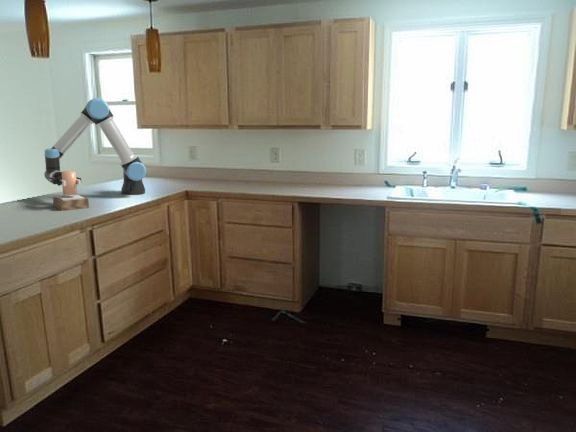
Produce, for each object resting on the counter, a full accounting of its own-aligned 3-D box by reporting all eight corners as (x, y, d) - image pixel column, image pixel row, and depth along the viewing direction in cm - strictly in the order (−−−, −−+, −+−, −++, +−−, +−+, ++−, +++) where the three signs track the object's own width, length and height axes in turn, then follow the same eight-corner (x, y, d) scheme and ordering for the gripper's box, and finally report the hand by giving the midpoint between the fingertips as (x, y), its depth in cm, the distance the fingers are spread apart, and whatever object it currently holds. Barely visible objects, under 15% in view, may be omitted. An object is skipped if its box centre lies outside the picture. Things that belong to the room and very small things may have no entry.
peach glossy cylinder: (74, 192, 256) (73, 170, 254) (79, 194, 251) (77, 172, 249) (61, 193, 252) (59, 171, 249) (65, 195, 247) (64, 172, 244)
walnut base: (79, 203, 263) (79, 194, 262) (88, 207, 253) (88, 197, 252) (53, 206, 253) (52, 196, 252) (61, 210, 243) (61, 200, 242)
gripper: (77, 183, 270) (91, 188, 254) (40, 185, 257) (53, 191, 241) (76, 170, 269) (91, 175, 252) (39, 172, 255) (52, 177, 239)
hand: (72, 183), depth 247 cm, fingers closed on peach glossy cylinder, 7 cm apart
